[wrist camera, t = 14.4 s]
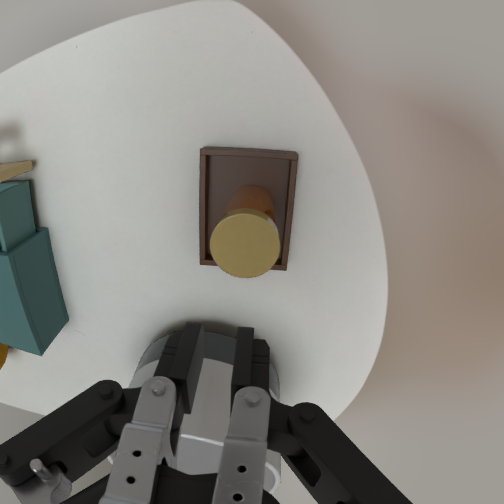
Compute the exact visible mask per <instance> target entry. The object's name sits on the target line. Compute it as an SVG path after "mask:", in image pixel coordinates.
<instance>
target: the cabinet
mask: <svg viewBox="0 0 504 504" xmlns="http://www.w3.org/2000/svg"><path fill="white" fill-rule="evenodd" d="M35 229H36V233H35V234H34V235H32V236H31V237H29V238H28V239H27V240H25V241H24V242H22V243H21V244H19V245H18V246H17V247H15V248H14V249H12V250H11V251H10V252H8V253H6V252H0V343H2V344H5V345H8V346H11V347H14V348H17V349H20V350H23V351H26V352H29V353H33V354H36V355H39V356H42V355H43V354H44V352H45V351H46V349H47V348H48V347H49V345H50V344H51V343H52V341H53V340H54V339H55V337H56V336H57V335H58V333H59V332H60V331H61V329H62V328H63V327H64V326H65V324H66V323H67V322H68V321H69V318H68V315H67V311H66V307H65V304H64V300H63V296H62V293H61V289H60V285H59V280H58V276H57V272H56V267H55V263H54V258H53V253H52V248H51V243H50V238H49V232H48V228H39V227H35Z"/></svg>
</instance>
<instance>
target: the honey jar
mask: <svg viewBox="0 0 504 504" xmlns="http://www.w3.org/2000/svg"><path fill="white" fill-rule="evenodd" d="M210 251H211V254H212V257H213V259H214V261H215V262H216V264H217V265H218V266H219V267H220V268H221V269H222V270H223V271H225V272H226V273H228V274H230V275H232V276H235V277H240V278H252V277H256V276H259V275H262V274H264V273H265V272H267V271H268V270H269V269H270V268H272V266H273V265H274V264H275V262H276V261H277V259H278V256H279V253H280V238H279V232H278V229H277V227H276V218H275V206H274V201H273V199H272V197H271V195H270V194H269V193H268V192H267V191H266V190H265V189H263V188H261V187H259V186H255V185H246V186H243V187H240V188H238V189H237V190H236V191H234V192H233V194H232V195H231V197H230V198H229V201H228V203H227V206H226V208H225V210H224V213H223V215H222V218H221V219H220V220H219V221H218V222H217V224H216V226H215V228H214V230H213V232H212V235H211V239H210Z"/></svg>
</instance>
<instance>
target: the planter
mask: <svg viewBox="0 0 504 504" xmlns="http://www.w3.org/2000/svg"><path fill="white" fill-rule="evenodd" d="M171 335H172V334H171ZM171 335H168V336H165V337H163V338H160V339H159V340H157V341H155V342H154V343H153V344H151V345H150V346H149V347H148V348H147V349H146V351H145V352H144V354H143V355H142V357H141V360H140V362H139V364H138V366H137V369H136V371H135V373H134V376H133V378H132V380H131V382H130V385H129V387H128V388H137V387H141V386H142V385H143V383H144V382H145V381H146V380H148V379H149V378H152V377H153V375H154V372H155V370H156V367H157V364H158V362H159V359H160V357H161V354H162V351H163V349H164V347H165V344H166V341H167V339H168V337H169V336H171ZM236 340H237V339H234V338H231V337H228V336H225V335H221V334H217V333H211V332H204V359H203V364H202V368H201V372H200V377H199V381H198V385H197V390H196V394H195V399H194V403H193V407H192V412H191V415H190V414H184V417H183V421H182V432H181V439H180V445H179V452H178V458H177V470H178V471H181V472H183V473H186V474H189V475H197V474H209V473H218V469H219V464H220V459H221V454H222V449H223V444H224V440H225V437H226V436H227V433H228V428H229V423H230V402H231V379H232V371H233V363H234V356H235V348H236ZM269 390H270V394H271V396H272V397H273V398H274V399H275V400H276V401H278V402H279V403H280V387H279V379H278V375H277V373H276V371H275V369H274V367H273V366H272V364H271V363H270V362H269ZM116 451H117V450H116ZM116 451H114V452H113V453H112V454H111V455H109V456H108V457H107V458H108V460H109V462H110V463H111V464H112V465H113V461H114V458H115V454H116ZM280 483H281V454H280V453H278V452H275V451H272V450H269V449H267V454H266V464H265V474H264V484H263V489H265V490H266V491H268V492H269V493H270V494H272V493H274V492H275V491H276V490H277V489H278V487H279V485H280Z"/></svg>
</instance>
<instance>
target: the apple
mask: <svg viewBox="0 0 504 504" xmlns="http://www.w3.org/2000/svg"><path fill="white" fill-rule="evenodd" d="M7 351H8V345H5V344H2V343H0V369H1V368H2V366H3V365H4V363H5V360H6V358H7Z"/></svg>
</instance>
